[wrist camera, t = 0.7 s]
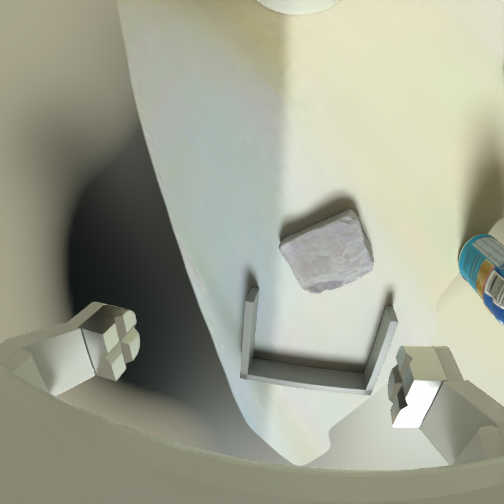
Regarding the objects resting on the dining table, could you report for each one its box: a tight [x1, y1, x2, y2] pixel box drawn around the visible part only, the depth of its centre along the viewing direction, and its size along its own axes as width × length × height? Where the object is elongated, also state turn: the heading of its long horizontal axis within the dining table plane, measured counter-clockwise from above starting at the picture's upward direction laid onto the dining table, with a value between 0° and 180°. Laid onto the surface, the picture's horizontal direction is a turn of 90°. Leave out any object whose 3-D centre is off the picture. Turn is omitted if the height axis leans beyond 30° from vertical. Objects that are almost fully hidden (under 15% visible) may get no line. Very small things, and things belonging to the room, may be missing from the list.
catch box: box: [240, 287, 398, 395], centre depth 48 cm, size 15×22×4 cm
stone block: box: [279, 209, 374, 294], centre depth 44 cm, size 12×5×10 cm
